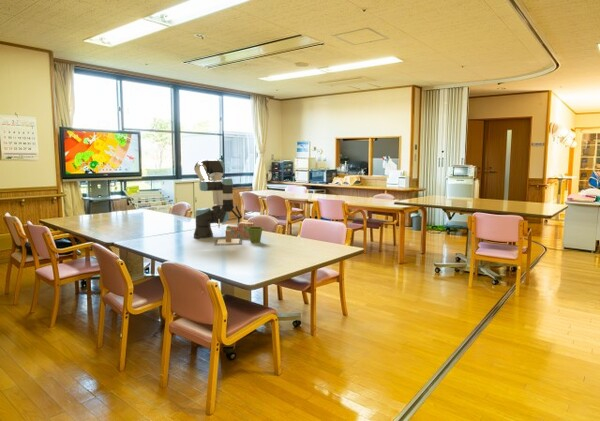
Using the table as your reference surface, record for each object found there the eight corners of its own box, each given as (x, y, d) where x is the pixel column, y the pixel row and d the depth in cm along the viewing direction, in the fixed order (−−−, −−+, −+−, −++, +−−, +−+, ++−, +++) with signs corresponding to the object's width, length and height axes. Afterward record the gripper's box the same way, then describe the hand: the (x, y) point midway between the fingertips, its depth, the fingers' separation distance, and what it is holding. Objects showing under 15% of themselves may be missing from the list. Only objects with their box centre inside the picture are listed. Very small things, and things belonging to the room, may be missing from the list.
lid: (218, 240, 312) (218, 228, 311) (239, 239, 314) (239, 228, 313) (217, 244, 296) (216, 232, 295) (239, 244, 299) (239, 232, 297)
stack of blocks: (226, 238, 325) (225, 222, 324) (228, 236, 331) (228, 221, 330) (252, 238, 322) (252, 223, 321) (254, 237, 329) (254, 222, 327)
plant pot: (248, 244, 301) (248, 229, 300) (247, 241, 313) (246, 226, 311) (264, 243, 303) (264, 228, 302) (262, 240, 315) (262, 226, 314)
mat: (215, 240, 314) (215, 239, 314) (242, 240, 317) (242, 239, 317) (214, 246, 294) (213, 245, 294) (242, 245, 297) (242, 244, 297)
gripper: (210, 199, 296) (210, 228, 298) (244, 199, 299) (245, 228, 302) (210, 199, 303) (211, 227, 306) (244, 198, 306) (245, 226, 309)
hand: (228, 227), depth 304 cm, fingers open, 13 cm apart
